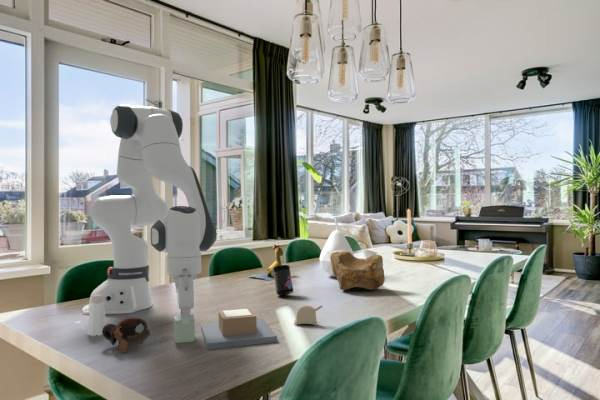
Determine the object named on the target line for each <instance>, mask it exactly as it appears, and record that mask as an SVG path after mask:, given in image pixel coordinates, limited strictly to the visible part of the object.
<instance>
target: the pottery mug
mask: <svg viewBox="0 0 600 400" xmlns="http://www.w3.org/2000/svg"><path fill="white" fill-rule="evenodd" d="M106 324H107V323H106ZM140 325H142V326H143V330H142V331H141V332H138V331H136V329H137V326H140ZM102 333H103V335H102V336H103V337H104V338H105V339H106V340H107V341H109V342H110V344H111V345H112V346H114V345H116V343H117V341H118V345H119V347H118V352H119V353H123V354H125V353H126V352H127V350H130V349H133V348H135V347H137V346H139V345H141V344H143V343H144V341H146V340H147V339H148V337H149V336H151V333H150V330H149V329H148V324H147V322H146V321H145V320H144V319H142V318H140V317H133V316H132V317H127V318H123V319H121V320H120V321H119V322H118V323H116V324H114V323H108V324H107V325H105V326H104V328H103V330H102Z"/></svg>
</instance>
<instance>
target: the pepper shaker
mask: <svg viewBox="0 0 600 400" xmlns="http://www.w3.org/2000/svg"><path fill="white" fill-rule="evenodd" d="M90 296H91V295H90ZM91 297H92V304H90V311H89V315H88V322H87V332H86V333H87V334H86V335H87V336H89V335H90V337H95V336H96V335H98V336H103V335H102V334H103V333H102V330H103V328H104V326H105V325H107V318H106V314H105V308H104V303H102V294H94V295H92V296H91Z"/></svg>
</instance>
